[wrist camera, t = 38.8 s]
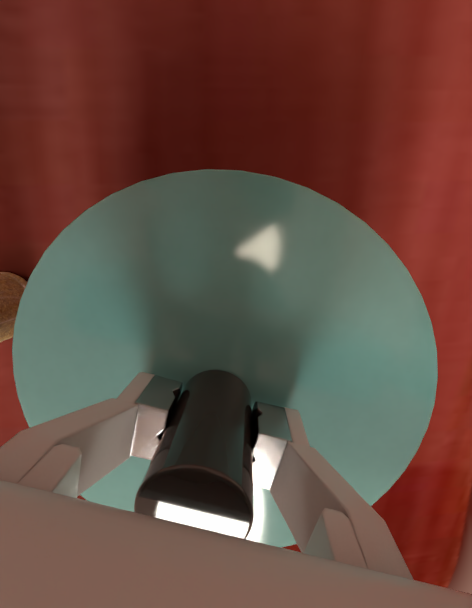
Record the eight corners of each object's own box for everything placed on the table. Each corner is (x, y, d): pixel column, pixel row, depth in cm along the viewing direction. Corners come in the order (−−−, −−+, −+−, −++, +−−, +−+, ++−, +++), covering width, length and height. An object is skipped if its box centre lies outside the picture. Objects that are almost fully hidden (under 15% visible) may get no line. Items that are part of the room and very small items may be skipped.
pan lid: (48, 127, 8) (-271, -57, 3) (490, 242, 8) (858, 239, 3) (32, 479, 12) (-125, 650, 7) (336, 553, 12) (397, 772, 7)
